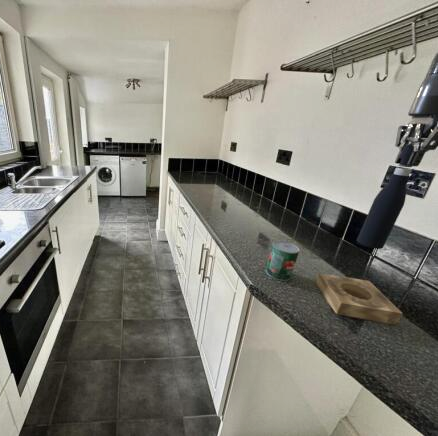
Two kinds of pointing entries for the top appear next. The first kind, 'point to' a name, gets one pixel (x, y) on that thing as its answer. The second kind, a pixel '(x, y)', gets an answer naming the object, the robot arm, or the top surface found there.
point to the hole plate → (357, 299)
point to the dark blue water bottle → (387, 205)
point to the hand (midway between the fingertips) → (405, 164)
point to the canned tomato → (282, 260)
